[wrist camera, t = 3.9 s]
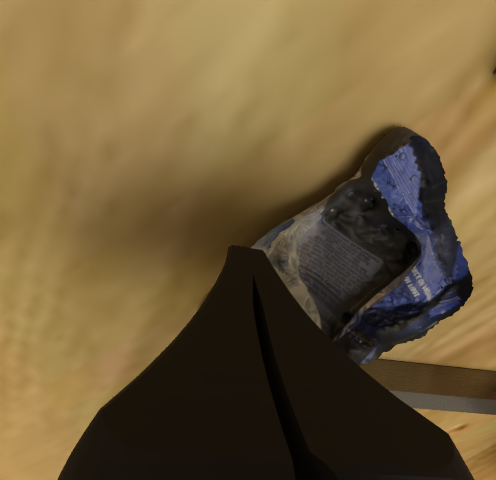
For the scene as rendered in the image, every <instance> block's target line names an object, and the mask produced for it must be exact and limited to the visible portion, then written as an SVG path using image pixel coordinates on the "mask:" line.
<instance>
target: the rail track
mask: <svg viewBox="0 0 496 480" xmlns="http://www.w3.org/2000/svg"><path fill="white" fill-rule="evenodd" d="M494 74H496V70H495V72H494ZM359 367H361V368H362V369H363V370H364V371H365V372H366V373H368V374H369V375H370V376H371V377H372V378H374V379H375V380H376V381H377V382H379V383H380V384H381V385H382V386H384V387H385V388H386V389H387V390H389V391H390V392H391V393H392V394H394V395H395V396H396V397H397V398H399V399H400V400H401V401H403V402H404V403H406V404H407V405H408V406H410V407H411V408H420V409H432V410H444V411H456V412H467V413H479V414H491V415H496V372H492V371H483V370H474V369H464V368H455V367H446V366H437V365H427V364H418V363H409V362H399V361H390V360H381V359H374V360H373V361H371V362H370V363H368V364H364V363H363V364H362V365H361V366H359Z"/></svg>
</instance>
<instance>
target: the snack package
mask: <svg viewBox="0 0 496 480" xmlns="http://www.w3.org/2000/svg"><path fill="white" fill-rule="evenodd" d="M444 174H445V171H444V169H443V167H442V163H441V161H440V156H439V155H438V154H437V152H436V150H435V149H434V147H432V146H431V145H430V143H429V142H428V141H427V140H426V139H425V138H423V137H421V136H420V135H418V134H417V133H415V132H413V131H412V130H410V129H408V128H405V127H397V128H395V129H393V130H392V131H390V132H389V133H387V134H386V135H385V136H384V137H382V138H381V139H380V140H379V142H378V143H377V145H376V146H375V147H374V148H373V150H372V151H371V153H370V154H369V155H368V156H367V157H366V158H365V161H364V162H363V164H362V166H361V167H360V169H359V171H358V172H357V173H356V174H354V176H353V177H352V178H351V179H350V180H348V181H345V182H344V183H342V184H341V185H339V186H338V187H337V188H336V190H335V191H334V192H333V193H332V194H330V195H328V196H327V197H326V198H325V199H324V200H322V201H320V202H318V203H316V204H314V205H312V206H311V207H309V208H307V209H306V210H304V211H303V212H301V213H299V214H297V215H296V216H294V217H292V218H290V219H288V220H286V221H285V222H283V223H281V224H280V225H278V226H277V227H276V228H274V229H272V230H270V231H269V232H268V233H266V234H265V235H264V236H263V237H262V238H260V239H259V240H258V241H257V242H256V243H255V244H254V245H253V246H251V247H250V248H254V249H260V250H263V251H264V253H265V254H266V256H267V257H268V259H269V261H270V262H271V264H272V265H273V267H274V269H275V270H276V272H277V273H278V275H279V276H280V278H281V279H282V281H283V282H284V284H285V285H286V287H287V288H288V290H289V291H290V293H291V294H292V295H293V297H294V298H295V299H296V301H297V302H298V303H299V304H300V306H301V307H302V308H303V309H304V311H305V312H306V313H307V314H308V316H309V317H310V318H311V319H312V320H313V321H314V322H315V324H316V325H317V326H318V327H319V328H320V329H321V330H322V331H323V332H324V333H325V334H326V335H327V336H328V337H329V338H330V339H331V340H332V341H333V342H334V343H335V344H336V345H337V346H338V347H339V348H340V349H341V350H342V351H343V352H344V353H345V354H346V355H347V356H348V357H350V358H351V359H352V360H353V361H354V362H355V363H356V364H357V365H358V366H361V365H362V364H363V363H364V364H368V363H370V362H371V361H373V360H374V359H376V358H379V357H380V356H381V354H382V353H383V352H387V351H390V350H391V349H392V348H393V347H394V346H395V345H397V344H400V343H406V342H407V341H413V340H415V339H419V338H422V337H423V336H425V335H426V334H427V332H428V330H429V329H432V328H433V327H434V325H436V324H438V323H439V321H440V320H443V319H445V318H447V317H449V316H452V315H453V314H454V313H455V312H456V311H458V310H460V307H461V306H464V304H465V302H466V301H467V299H468V298H469V297H470V296H471V292H472V290H473V287H472V284H473V283H472V275H471V274H470V271H469V268H468V262H467V260H466V259H465V258H464V256H463V254H462V252H463V251H462V247H461V246H460V244H461V242H460V241H457V239H458V237H457V236H456V234H455V230H454V228H453V226H452V220H450V219H449V218H448V214H447V213H446V211H445V209H444V207H445V203H444V200H445V193H446V192H447V180H446V178H445V176H444Z"/></svg>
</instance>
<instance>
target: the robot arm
mask: <svg viewBox="0 0 496 480" xmlns="http://www.w3.org/2000/svg"><path fill="white" fill-rule="evenodd" d="M58 480H474V478H473V476H472V475H471V473H470V471H469V469H468V467H467V466H466V464H465V462H464V460H463V459H462V457H461V455H460V453H459V451H458V450H457V448H456V446H455V444H454V443H453V441H452V439H451V438H450V436H449V434H448V433H446V432H445V431H443V430H442V429H441V428H439V427H438V426H436V425H435V424H434V423H432V422H431V421H429V420H428V419H427V418H425V417H424V416H422V415H421V414H420V413H418V412H417V411H415V410H414V409H413V408H411V407H410V406H408V405H407V404H406V403H404V402H403V401H401V400H400V399H399V398H397V397H396V396H395V395H394V394H392V393H391V392H390V391H389V390H387V389H386V388H385V387H384V386H382V385H381V384H380V383H379V382H377V381H376V380H375V379H374V378H372V377H371V376H370V375H369V374H368V373H366V372H365V371H364V370H363V369H362V368H361V367H359V366H358V365H357V364H356V363H355V362H354V361H353V360H352V359H351V358H350V357H348V356H347V355H346V354H345V353H344V352H343V351H342V350H341V349H340V348H339V347H338V346H337V345H336V344H335V343H334V342H333V341H332V340H331V339H330V338H329V337H328V336H327V335H326V334H325V333H324V332H323V331H322V330H321V329H320V328H319V327H318V326H317V325H316V324H315V322H314V321H313V320H312V319H311V318H310V317H309V316H308V314H307V313H306V312H305V311H304V309H303V308H302V307H301V306H300V304H299V303H298V302H297V301H296V299H295V298H294V297H293V295H292V294H291V293H290V291H289V290H288V288H287V287H286V285H285V284H284V282H283V281H282V279H281V278H280V276H279V275H278V273H277V272H276V270H275V269H274V267H273V265H272V264H271V262H270V261H269V259H268V257H267V256H266V254H265V253H264V251H263V250H260V249H254V248H247V247H240V246H234V245H232V246H230V247H229V248H228V253H227V257H226V262H225V265H224V267H223V270H222V272H221V274H220V276H219V278H218V280H217V282H216V283H215V285H214V287H213V288H212V290H211V292H210V293H209V295H208V296H207V298H206V300H205V301H204V303H203V304H202V305H201V307H200V308H199V310H198V311H197V312H196V314H195V315H194V316H193V318H192V319H191V320H190V322H189V323H188V324H187V325H186V326H185V328H184V329H183V330H182V331H181V332H180V333H179V335H178V336H177V337H176V338H175V339H174V340H173V341H172V343H171V344H170V345H169V346H168V347H167V348H166V349H165V350H164V351H163V352H162V353H161V354H160V355H159V356H158V357H157V358H156V359H155V360H154V361H153V362H152V363H151V364H150V365H149V366H148V367H147V368H146V369H145V370H144V371H143V372H142V373H141V374H140V375H139V376H137V377H136V378H135V379H134V380H133V381H132V382H131V383H129V384H128V385H127V386H126V387H125V388H124V389H123V390H121V391H120V392H119V393H118V394H117V395H116V396H115V397H113V398H112V399H111V400H110V401H109V402H108V403H106V404H105V405H104V406H103V407H102V408H101V409H100V410H99V411H98V413H97V414H96V416H95V417H94V418H93V420H92V421H91V423H90V424H89V426H88V427H87V429H86V430H85V432H84V433H83V435H82V436H81V438H80V440H79V441H78V443H77V444H76V446H75V448H74V449H73V451H72V453H71V455H70V456H69V458H68V460H67V462H66V464H65V466H64V468H63V470H62V471H61V473H60V475H59V477H58Z"/></svg>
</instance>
